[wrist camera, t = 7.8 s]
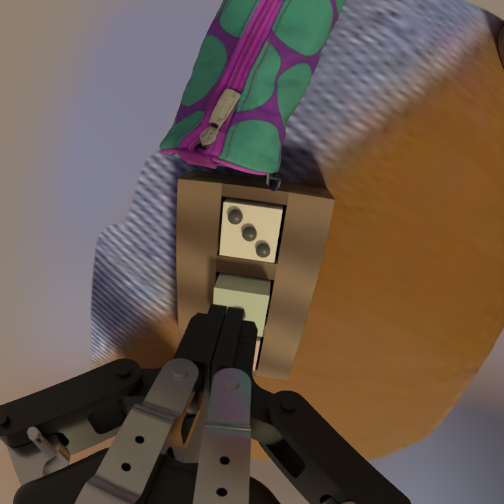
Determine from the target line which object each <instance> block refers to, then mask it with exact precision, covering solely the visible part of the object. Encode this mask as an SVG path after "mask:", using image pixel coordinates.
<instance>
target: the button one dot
mask: <svg viewBox="0 0 504 504" xmlns="http://www.w3.org/2000/svg"><path fill="white" fill-rule="evenodd" d="M270 283H271V280H270V279H263V278H256V277H249V276H243V275H236V274H229V273H223V272H220V273H219V276H218V279H217V281H216V284H215V286H214V298H213V304H218V305H224V306H227V307H228V306H230V307H236V308H243V309H244V318H243V320H247V321H253V322H255V324H256V327H257V329H258V334H257V336H259V337H262V335H263V329H264V324H265V318H266V313H267V307H268V302H269V296H270Z"/></svg>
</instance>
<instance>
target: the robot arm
mask: <svg viewBox="0 0 504 504" xmlns="http://www.w3.org/2000/svg"><path fill="white" fill-rule="evenodd" d="M498 49H499V54H500V57H501V60H502V63H503V66H504V27H503V28H502V29H501V30H500V32H499V34H498ZM243 318H244V309H243V308H236V307H230V306H228V307H227V306H224V305H218V304H211V305H210V308H209V310H208V313H207V314H204V313H199V312H198V313H197V314H196V315H194V316H193V317H192V318H191V319H190V321H189V323H188V326H187V328H186V330H185V333H184V335H183V337H182V340H181V342H180V344H179V347H178V349H177V351H176V354H175V356H174V358H173V359H172V360H170V361H168V362H166V363H165V364H164V366H163V367H162V368H157V369H140V366H139V365H138V364H137V363H136V362H135V361H133V360H131V359H125V358H123V359H117V360H115V361H112V362H110V363H108V364H105V365H103V366H100V367H98V368H96V369H93V370H91V371H89V372H86V373H84V374H81V375H79V376H76V377H74V378H71V379H69V380H67V381H64V382H62V383H59V384H56V385H54V386H51V387H49V388H47V389H44V390H41V391H38V392H36V393H33V394H31V395H28V396H25V397H23V398H20V399H17V400H14V401H12V402H9V403H6V404H3V405H0V439H1V440H2V441H3V442H4V443H5V445H6V446H7V448H8V451H9V454H10V457H11V460H12V463H13V465H14V468H15V471H16V473H17V476H18V478H19V481H20V483H21V485H22V486H21V487H20V488H19V489H18V491H17V492H16V494H15V496H14V500H13V504H280V503H279V501H278V500H277V499H276V497H275V496H274V495H273V493H272V492H271V491H270V490H269V489H268V488H267V487H266V486H265V485H263V484H262V483H261V482H259V481H258V480H256V479H255V478H253V477H250V451H251V438H253V439H255V440H257V441H258V442H259V444H260V446H261V447H262V448H263V449H264V451H265V452H266V453H267V454H268V456H269V457H270V458H271V459H272V461H273V462H274V463H275V464H276V465H277V467H278V468H279V469H280V470H281V471H282V473H283V474H284V475H285V476H286V477H287V478H288V480H289V481H290V482H291V483H292V484H293V485H294V487H295V488H296V489H297V490H298V491H299V492H300V493H301V494H302V495H303V496H304V498H305V499H306V500H307V501H308V502H309V503H310V504H411V502H410V500H409V499H408V498H407V497H406V496H405V495H404V494H403V493H402V492H401V491H399V490H398V489H397V488H396V487H395V486H394V485H393V484H392V483H390V482H389V481H388V480H387V479H386V478H385V477H384V476H383V475H381V474H380V473H379V472H378V471H377V470H376V469H375V468H374V467H373V466H372V465H371V464H370V463H368V462H367V461H366V460H365V459H364V458H363V457H362V456H361V455H360V454H359V453H358V452H357V451H356V450H355V449H354V448H353V447H352V446H351V445H350V444H349V443H348V442H347V441H346V440H345V439H344V438H343V437H341V436H340V435H339V434H338V433H337V432H336V431H335V430H334V429H333V428H332V427H331V426H330V425H329V423H328V422H327V421H326V420H325V419H324V418H323V417H322V416H321V415H320V414H319V413H318V412H317V411H316V410H315V409H314V408H313V407H312V406H311V405H310V404H309V403H308V402H307V401H306V400H305V399H304V398H303V397H302V396H301V395H300V394H298V393H296V392H293V391H280V392H277V393H275V394H273V393H271V392H268V391H266V390H264V389H262V388H260V387H259V386H258V385H257V384H256V383H255V381H254V379H253V376H252V371H253V364H254V356H255V349H256V341H257V334H258V329H257V327H256V324H255V322H253V321H247V320H243ZM203 398H206V399H210V401H209V408H208V414H207V420H206V423H205V425H204V431H203V437H202V444H201V450H200V457H199V463H184V459H185V452H186V448H187V445H188V442H189V440H190V437H191V434H192V432H193V429H194V427H195V424H196V421H197V419H198V416H199V413H200V408H201V404H202V401H203ZM115 435H116V437H115V439H114V441H113V442H112V445H111V446H110V447H109V448H106V449H103V450H100V451H98V452H96V453H94V454H92V455H90V456H88V457H86V458H84V459H81V460H79V461H77V462H75V463H73V464H71V465H69V461H70V456H71V455H73V454H75V453H78V452H80V451H83V450H85V449H87V448H89V447H92V446H94V445H96V444H98V443H101V442H103V441H105V440H107V439H109V438H111V437H113V436H115Z"/></svg>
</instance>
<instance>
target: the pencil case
mask: <svg viewBox="0 0 504 504" xmlns="http://www.w3.org/2000/svg"><path fill="white" fill-rule="evenodd" d="M344 2H345V0H223V2H222V5H221V7H220V9H219V11H218V12H217V14H216V16H215V18H214V20H213V22H212V24H211V26H210V28H209V30H208V32H207V35H206V37H205V39H204V41H203V43H202V45H201V48H200V52H199V56H198V58H197V60H196V63H195V65H194V67H193V73H192V76H191V79H190V80H189V81H188V84H187V86H186V89H185V91H184V93H183V97H182V101H181V105H180V107H179V110H178V112H177V115H176V118H175V121H174V124H173V126H172V128H171V129H170V130H169V132H168V134H167V135H166V137H165V138H164V139H163V141H162V142H161V144H160V149H161V153H162V154H163V155H165V154H168V155H170V156H172V157H177V158H182V159H183V160H185V161H186V162H187V163H188V164H194V165H200V166H205V167H210V168H214V169H216V168H217V165H219V166H225V167H230V168H233V169H236V170H239V171H243V172H247V173H251V174H257V175H267V178H266V184H267V185H268V187H269V188H270V189H271V191H272V192H274V191H276V190H277V189H278V188H279V186H280V181H281V180H280V177H279V176H278V174H277V172H278V170H279V167H280V164H281V150H282V146H283V142H284V138H285V129H286V121H287V120H288V119H289V117H290V116H291V115H292V113H293V112H294V111H295V109H296V107H297V106H298V104H299V102H300V100H301V98H302V97H303V95H304V93H305V91H306V89H307V87H308V85H309V83H310V81H311V76H312V74H313V72H314V71H315V68H316V66H317V64H318V62H319V60H320V55H321V50H322V49H323V47H324V46H325V44H326V42H327V40H328V38H329V36H330V34H331V32H332V29H333V27H334V25H335V23H336V21H337V19H338V16H339V14H340V11H341V9H342V7H343V4H344ZM270 179H271V182H269V180H270Z"/></svg>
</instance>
